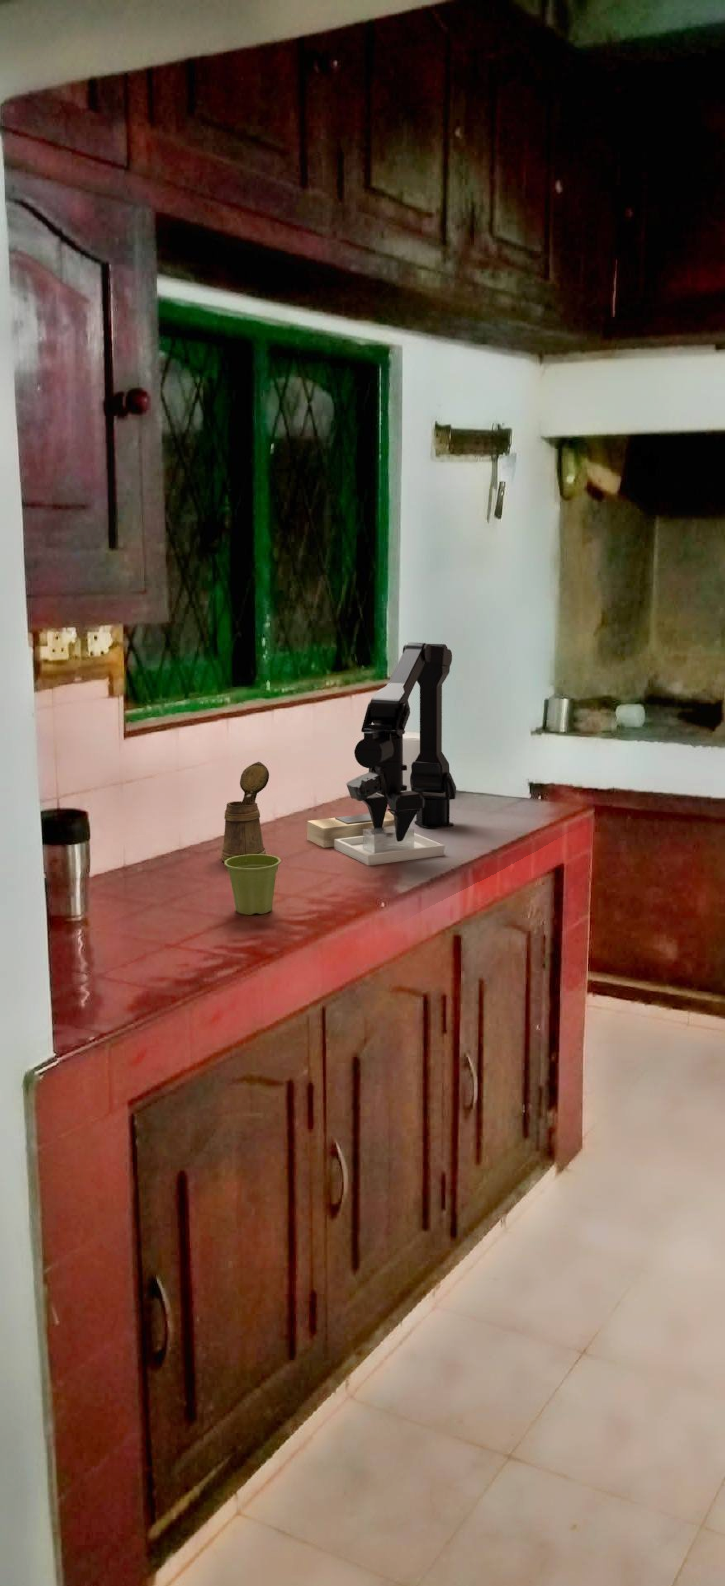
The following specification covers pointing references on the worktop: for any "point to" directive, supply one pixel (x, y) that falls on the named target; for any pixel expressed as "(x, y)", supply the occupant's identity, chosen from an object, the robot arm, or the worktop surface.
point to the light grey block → (386, 840)
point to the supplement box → (410, 754)
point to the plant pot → (253, 882)
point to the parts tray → (356, 851)
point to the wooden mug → (245, 816)
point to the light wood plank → (341, 828)
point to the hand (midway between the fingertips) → (388, 836)
